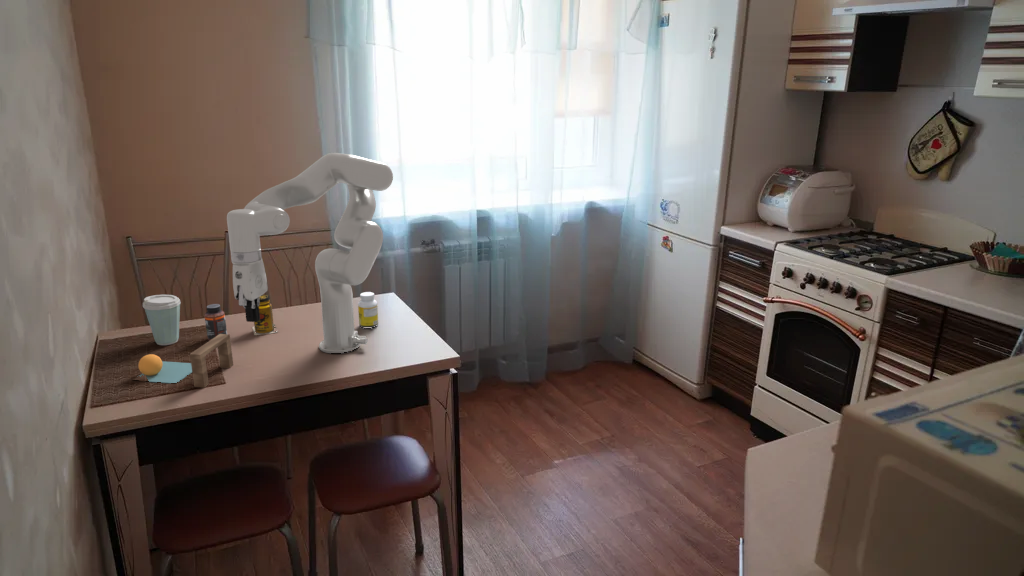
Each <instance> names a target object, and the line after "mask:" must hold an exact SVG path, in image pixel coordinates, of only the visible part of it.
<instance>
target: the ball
mask: <svg viewBox="0 0 1024 576" xmlns="http://www.w3.org/2000/svg"><path fill="white" fill-rule="evenodd" d="M162 361H163V360H162V359H161V357H160V356H158V355H156V354H153V353H151V354H150V353H149V354H146V355H144V356H142V357H141V358H140V359H139V361H138V370H139V371H140V373H141V374H142V373H143V374H144V375H148V376H152V375H155V374H157V373H159V372H160V371H161V369H162V366H163V363H162Z"/></svg>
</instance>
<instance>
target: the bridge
mask: <svg viewBox="0 0 1024 576" xmlns="http://www.w3.org/2000/svg"><path fill="white" fill-rule="evenodd" d="M215 349H217V354H218V360H219V368H221V369H222V368H225V369H231V368H232V367H233V366H234V358H233V352H232V343H231V335H230V334H228V333H227V334H219V335H217V336H216V337H214V338H213V339H212V340H210V341H209V340H208V341H207V342H206V343H204V344H202V345H201V346H199V347H198V348H197V349H195V350H194V351H192V352H190V353H189V359H190V363H191V366H192V373H191V374H192V379H193V385H194V386H193V387H194V388H203V389H205V388H206V387H208V386H207V385H208V384H209V375H208V370H207V369H208V368H207V362H206V361H207V360H206V356H207V355H209V354H210V353H212V351H214V350H215Z"/></svg>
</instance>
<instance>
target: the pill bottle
mask: <svg viewBox="0 0 1024 576" xmlns="http://www.w3.org/2000/svg"><path fill="white" fill-rule="evenodd" d="M359 299H360V300H359V301H358V303H357V308H358V309H357V310H358V324H359V327H360V326H361V327H374V326H376V325H378V326H379V312H378V311H379V310H378V309H379V308H378V307H379V306H378V302H377V300H376V299H375V293H374V292H371V291H365V292H361V293H360V294H359ZM361 327H360V328H361Z"/></svg>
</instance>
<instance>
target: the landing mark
mask: <svg viewBox="0 0 1024 576" xmlns="http://www.w3.org/2000/svg"><path fill="white" fill-rule="evenodd" d="M162 363H163V366H162V369H161V371H160V372H159V373H157V374H155V375H152V376H148V375H146V377H147V379H148V381H149V382H148V383H157V382H161V384H171V383H177V382H178V383H179V382H181V381H182V380H183V379H185V378H186V377H188V376H189V375H191V374H192V366H191V362H178V361H164V360H162ZM142 375H143V376H144V374H143V373H141V374H140V375H138V376H140V377H141V376H142ZM187 375H188V376H187ZM180 380H181V381H180ZM178 383H177V384H178Z"/></svg>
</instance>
